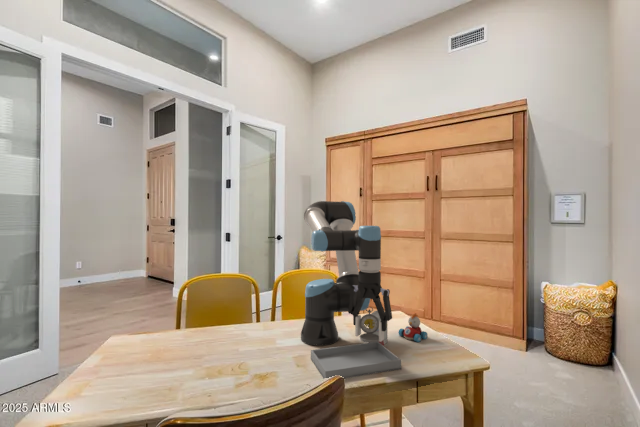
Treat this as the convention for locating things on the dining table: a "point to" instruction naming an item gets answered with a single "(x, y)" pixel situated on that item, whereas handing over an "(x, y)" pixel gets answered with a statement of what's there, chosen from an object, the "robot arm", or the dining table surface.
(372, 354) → the tray
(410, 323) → the toy car
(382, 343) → the ink box
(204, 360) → the dining table surface
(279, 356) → the dining table surface
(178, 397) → the dining table surface
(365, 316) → the pocket watch
